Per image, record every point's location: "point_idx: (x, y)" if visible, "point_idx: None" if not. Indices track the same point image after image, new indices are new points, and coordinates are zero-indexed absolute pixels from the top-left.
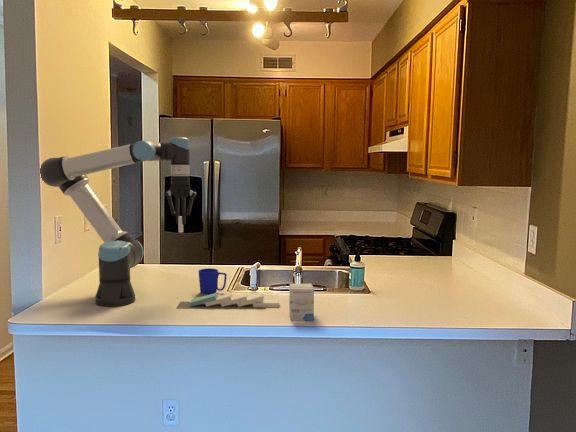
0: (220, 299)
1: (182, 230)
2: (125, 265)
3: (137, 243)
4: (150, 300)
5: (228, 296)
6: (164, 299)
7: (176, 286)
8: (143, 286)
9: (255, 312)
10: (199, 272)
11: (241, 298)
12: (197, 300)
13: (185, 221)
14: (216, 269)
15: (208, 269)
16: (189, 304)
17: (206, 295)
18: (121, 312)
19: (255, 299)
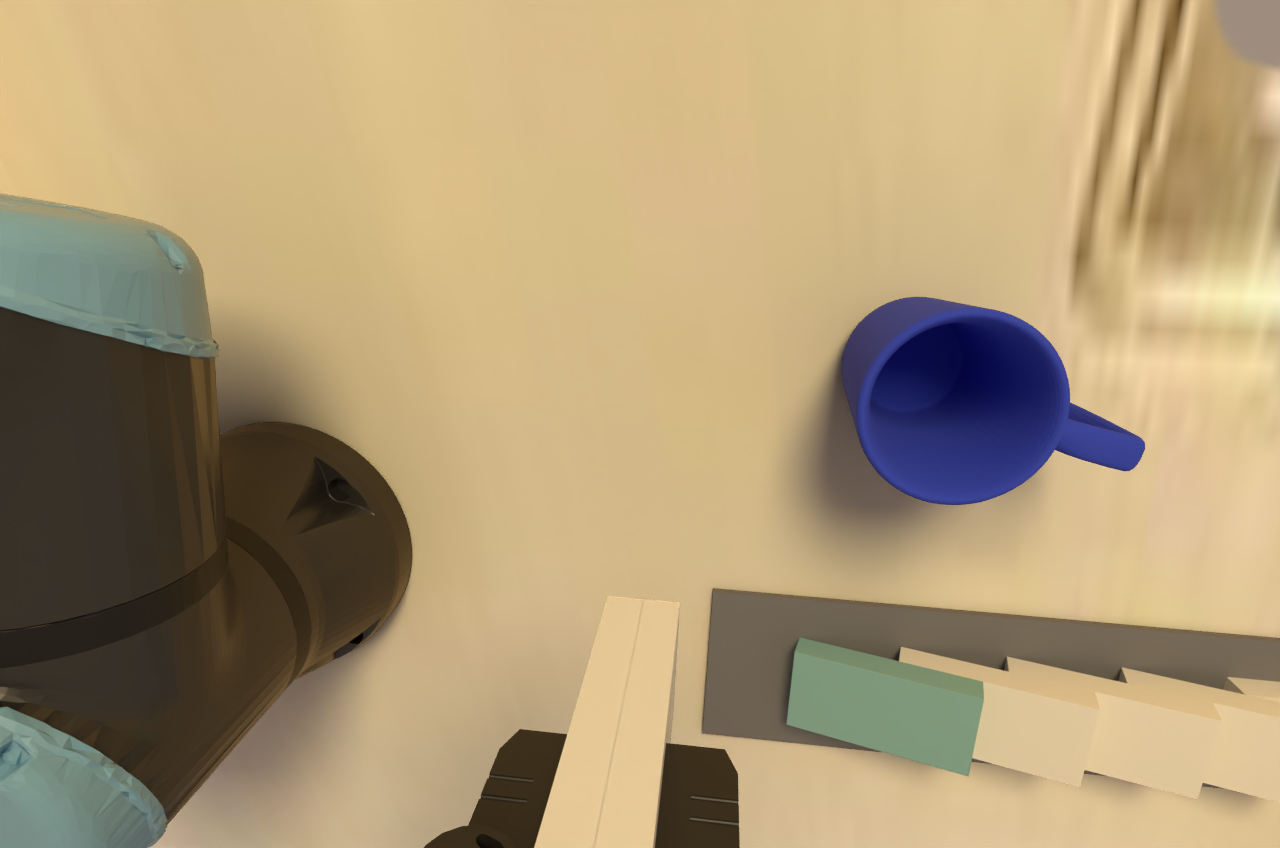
0: (999, 761)
1: (672, 701)
2: (223, 757)
3: (3, 350)
4: (505, 526)
5: (1065, 779)
6: (592, 508)
7: (613, 101)
8: (333, 99)
9: (1195, 823)
10: (866, 455)
11: (1154, 784)
12: (838, 733)
13: (735, 831)
14: (1056, 366)
15: (963, 320)
16: (778, 660)
17: (903, 681)
18: (413, 746)
19: (1255, 789)
